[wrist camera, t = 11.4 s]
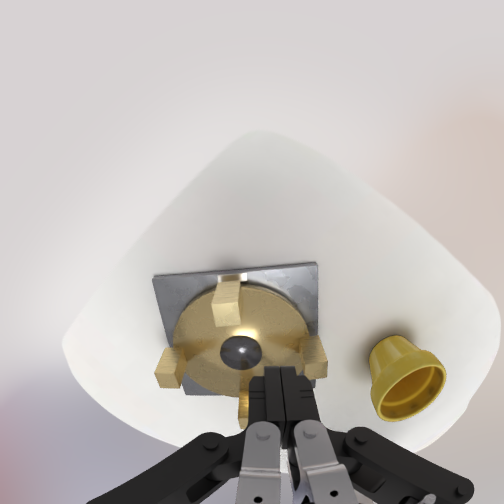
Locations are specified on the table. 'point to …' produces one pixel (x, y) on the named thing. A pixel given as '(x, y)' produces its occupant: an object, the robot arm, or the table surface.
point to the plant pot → (403, 378)
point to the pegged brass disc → (239, 342)
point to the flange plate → (274, 278)
